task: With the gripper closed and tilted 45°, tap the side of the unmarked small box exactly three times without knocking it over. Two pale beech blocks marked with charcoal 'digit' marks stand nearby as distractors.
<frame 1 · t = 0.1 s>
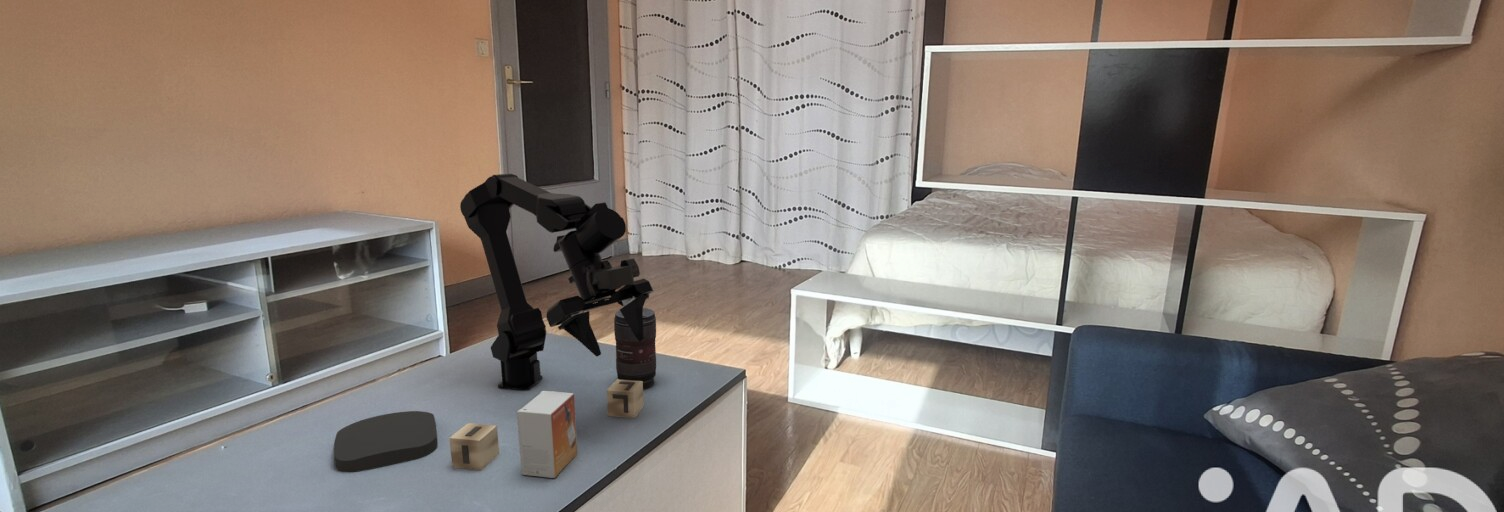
hand: (620, 347, 114), 15 cm above the table, tool tilted 35°, fingers open, 9 cm apart
marked block left: (476, 460, 107), on the table
media streaming box: (388, 448, 112), on the table
marked block right: (626, 411, 124), on the table
camera lens: (637, 384, 136), on the table
small box: (550, 465, 106), on the table
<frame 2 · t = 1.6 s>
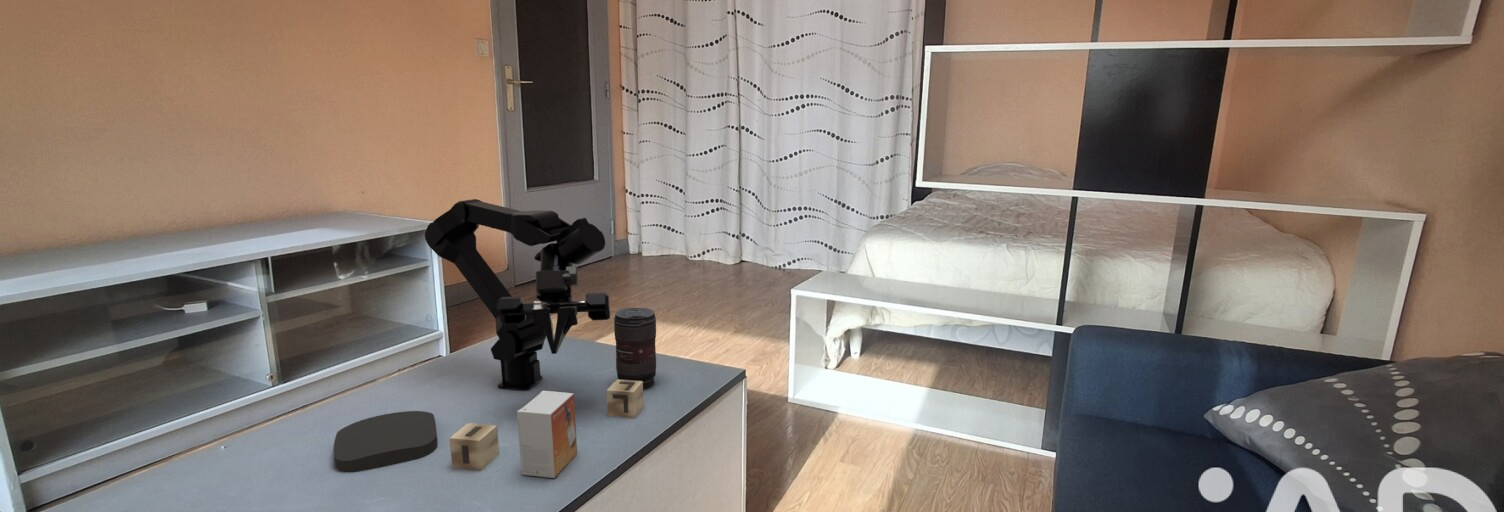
hand: (553, 352, 116), 13 cm above the table, tool tilted 45°, fingers closed
nothing on the table moved.
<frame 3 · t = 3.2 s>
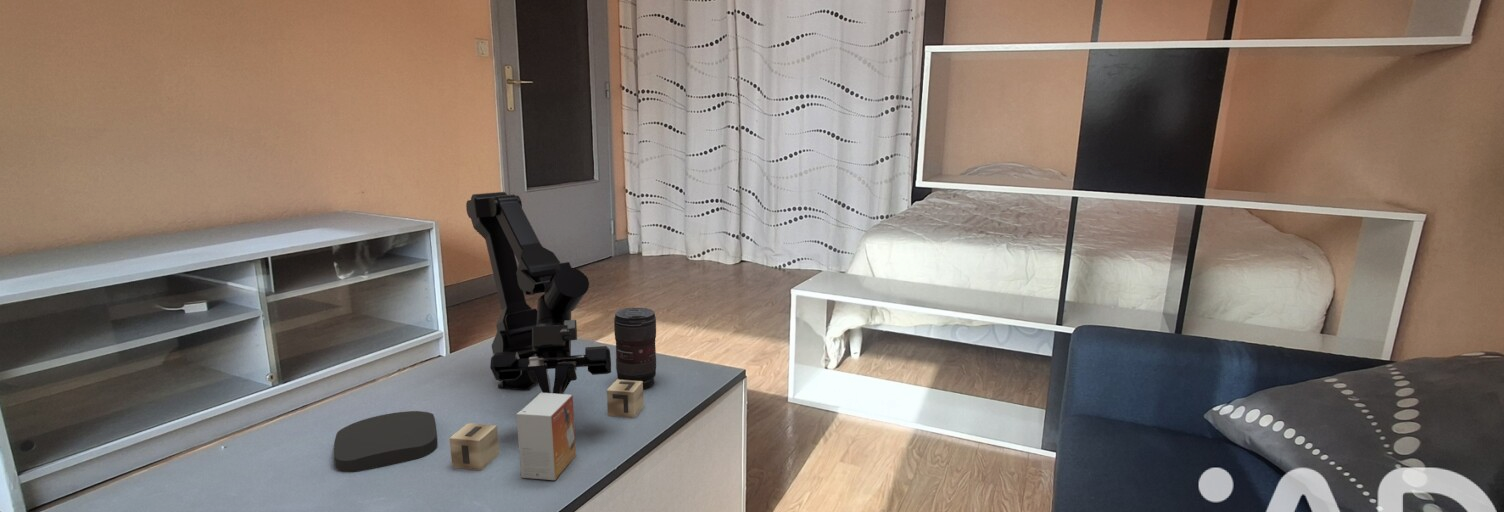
hand: (551, 413, 108), 7 cm above the table, tool tilted 45°, fingers closed
small box: (549, 467, 105), on the table, touching gripper
everything else where it was.
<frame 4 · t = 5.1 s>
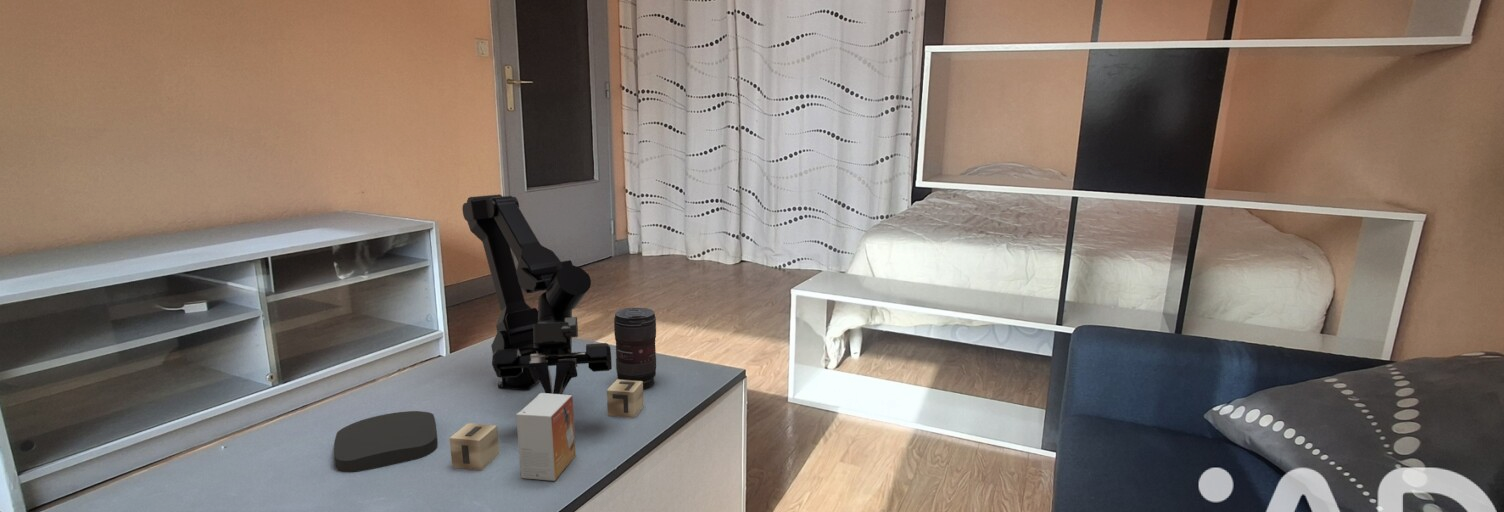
hand: (552, 409, 109), 7 cm above the table, tool tilted 45°, fingers closed
small box: (549, 468, 105), on the table
everything else where it was.
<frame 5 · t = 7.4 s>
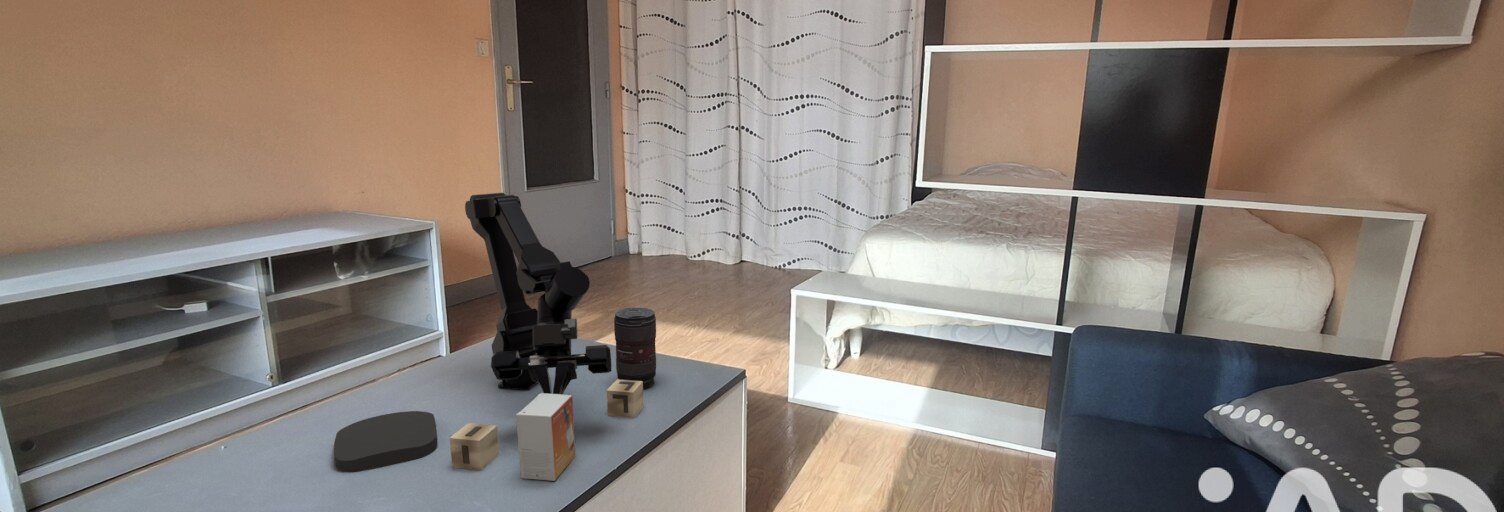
hand: (552, 411, 108), 7 cm above the table, tool tilted 45°, fingers closed
nothing on the table moved.
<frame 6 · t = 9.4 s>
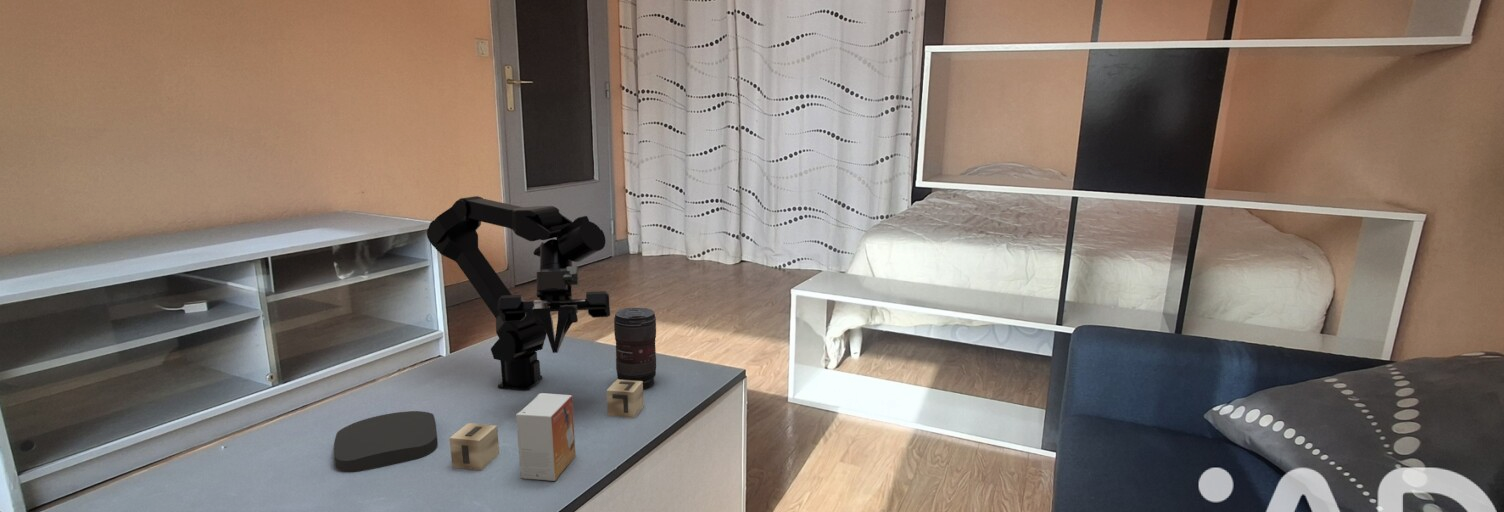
hand: (554, 352, 116), 13 cm above the table, tool tilted 40°, fingers closed
nothing on the table moved.
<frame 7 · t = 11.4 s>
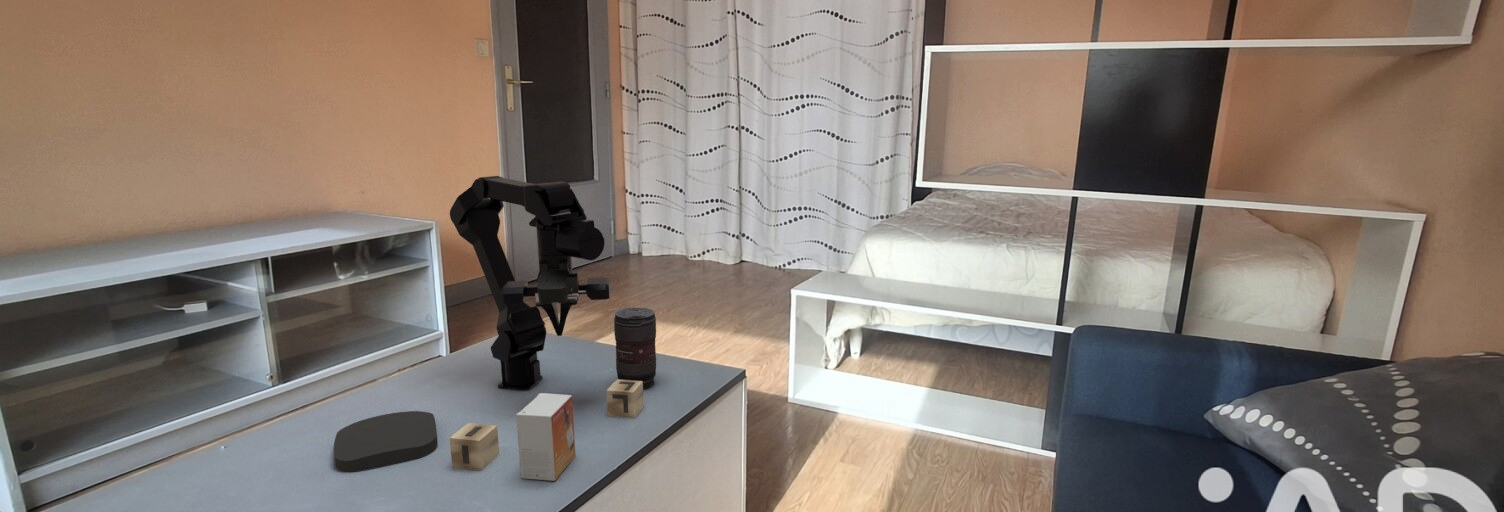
hand: (559, 335, 126), 13 cm above the table, tool pointing down, fingers closed
nothing on the table moved.
at the end: small box moved 0.9 cm from its start; small box tilted 0°; marked block left moved 0.1 cm from its start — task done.
